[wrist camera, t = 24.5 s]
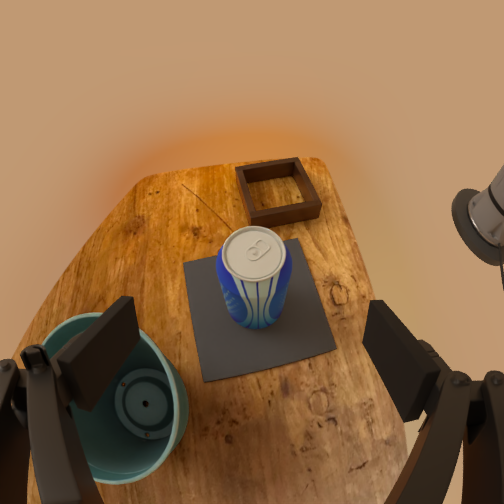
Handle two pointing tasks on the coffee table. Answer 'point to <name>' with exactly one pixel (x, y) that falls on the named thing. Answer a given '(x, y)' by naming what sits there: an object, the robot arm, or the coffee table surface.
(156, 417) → the flower pot
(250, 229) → the beer can
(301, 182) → the can holder
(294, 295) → the rubber mat
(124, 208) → the coffee table surface
